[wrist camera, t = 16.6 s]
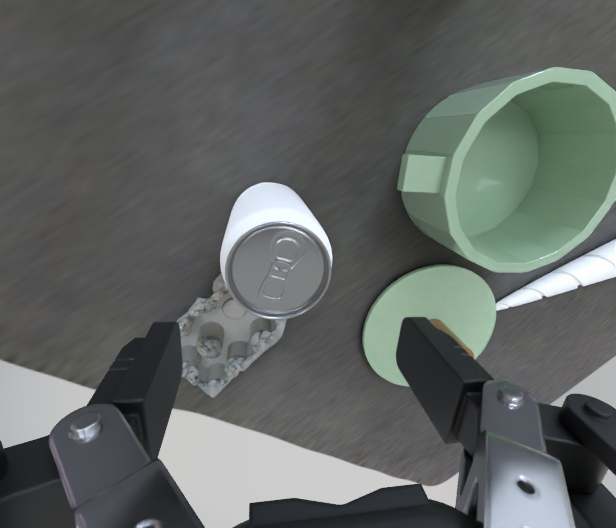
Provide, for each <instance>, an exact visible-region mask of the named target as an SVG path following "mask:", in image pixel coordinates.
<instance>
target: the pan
mask: <svg viewBox="0 0 616 528" xmlns="http://www.w3.org/2000/svg"><path fill="white" fill-rule="evenodd" d="M397 190H400V191H401V194H402V199H403V202H404V206H405V208H406V211H407V213H408V215H409V216H410V218H411V220H412V221H413V222H414V224H415V225H416V226H417V227H418V228H419V229H420V230H421V231H422V233H423V234H425V235H427V236H428V237H430V238H432V239H434V240H435V241H437V242H439V243H440V244H442V245H444V246H446V247H447V248H449V249H451V250H452V251H454V252H456V253H458V254H459V255H461V256H463V257H464V258H466V259H468V260H470V261H472V262H474V263H476V264H478V265H480V266H482V267H484V268H486V269H488V270H490V271H492V272H523V273H525V272H528V271H531V270H534V269H536V268H539V267H542V266H544V265H547V264H550V263H552V262H555V261H557V260H559V259H560V258H562V257H563V256H564V255H565V254H567V253H568V252H569V251H571V250H572V249H573V248H574V247H576V246H577V245H578V244H580V243H581V242H582V241H584V240H585V239H586V238H587V237H588V236H589V235H590V234H591V232H592V231H593V230H594V228H595V227H596V226H597V225H598V223H599V222H600V221H601V219H602V218H603V217H604V215H605V214H606V213H607V211H608V210H609V209H610V207H611V206H612V204H613V202H616V91H614V90H613V89H612V88H611V87H610V86H609V85H607V84H606V83H605V82H604V81H603V80H601V79H600V78H599V77H598V76H597V75H596V74H594V73H593V72H592V71H585V70H577V69H569V68H561V67H552V68H547V69H543V70H539V71H534V72H530V73H525V74H521V75H516V76H512V77H507V78H503V79H499V80H494V81H490V82H485V83H481V84H478V85H476V86H473V87H470V88H467V89H463V90H461V91H459V92H456V93H454V94H451V95H450V96H449V97H447V98H446V99H444V100H443V101H441V102H440V103H439V104H438V105H436V106H435V107H434V108H433V109H432V110H431V111H430V112H429V113H428V114H427V115H426V116H425V117H424V119H423V120H422V121H421V122H420V124H419V125H418V127H417V128H416V130H415V132H414V133H413V135H412V137H411V139H410V141H409V143H408V145H407V148H406V151H405V154H403V155H402V161H401V167H400V173H399V179H398V186H397Z"/></svg>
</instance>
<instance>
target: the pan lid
mask: <svg viewBox="0 0 616 528" xmlns="http://www.w3.org/2000/svg"><path fill="white" fill-rule="evenodd" d="M405 317H426V318H427V319H428V320H429V321H430V322H431V323H432V324H433V325H434V326H435V327H436V328H437V329H440V330H441V331H443V332H445V333H446V334H448V335H450V336H451V337H453V338H454V339H455V340H456V341H457V342H458V343H459V344H460V345H461V348H464V349H465V350H466V351H467V352H468V353H469V356H472V357H473V358H474V359H476V358H477V357H478V356H479V354H480V353H481V352H482V351H483V349H484V348H485V346H486V345H487V343H488V341H489V339H490V337H491V335H492V332H493V330H494V326H495V322H496V303H495V299H494V296H493V293H492V291H491V289H490V287H489V286H488V285H487V283H486V282H485V281H484V280H483V279H482V278H481V277H480V276H478V275H477V274H475V273H474V272H472V271H470V270H468V269H466V268H463V267H460V266H456V265H447V264H441V265H431V266H426V267H423V268H419V269H416V270H414V271H412V272H409V273H407V274H405V275H404V276H402V277H400V278H399V279H397V280H396V281H395V282H393V283H392V284H391V285H389V286H388V287H387V288H386V289H385V290H384V291H383V292H382V293H381V294H380V296H379V297H378V298H377V299H376V301H375V302H374V304H373V305H372V307H371V309H370V311H369V313H368V315H367V317H366V320H365V323H364V328H363V336H362V342H363V349H364V353H365V356H366V358H367V360H368V362H369V364H370V365H371V367H372V368H373V370H374V371H375V372H376V373H377V374H378V375H380V376H381V377H382V378H384V379H385V380H387V381H389V382H391V383H394V384H397V385H401V386H408V387H410V386H409V385H408V383H407V381H406V380H405V378H404V377H403V375H402V373H401V372H400V370H399V368H398V366H397V362H396V349H397V344H398V339H399V334H400V329H401V324H402V320H403V319H404V318H405Z"/></svg>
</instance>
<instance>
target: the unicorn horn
mask: <svg viewBox="0 0 616 528" xmlns="http://www.w3.org/2000/svg"><path fill="white" fill-rule="evenodd" d="M613 277H616V239H615V240H613V241H611V242H609V243H607V244H605V245H602V246H600V247H599V248H597V249H595V250H593V251H591V252H589V253H587V254H585V255H583V256H581V257H579V258H577V259H575V260H573V261H571V262H569V263H567V264H565V265H564V266H562V267H560V268H558V269H556V270H554V271H552V272H550V273H549V274H547V275H545V276H543V277H541V278H539V279H537V280H535V281H534V282H532V283H530V284H528V285H526V286H524V287H523V288H521V289H520V290H517V291H515V292H514V293H512V294H510V295H509V296H507V297H505V298H503V299H502V300H500V301H499V302H497V303H496V311H498V310H502V309H506V308H508V307H509V306H511V307H514V306H518V305H521V304H525V303H529V302H532V301H536V300H539V299H542V296H544V295H545V296H546V297H549V296H553V295H556V294H560V293H563V292H566V291H570V290H573V289H576V288H578V287H577V286H578V285H582V286H586V285H590V284H593V283H596V282H600V281H603V280H606V279H609V278H613Z"/></svg>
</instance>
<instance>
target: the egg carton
mask: <svg viewBox="0 0 616 528" xmlns="http://www.w3.org/2000/svg"><path fill="white" fill-rule="evenodd" d="M213 292H214V294H213V295H212V296H211V297H210V298H208V299H203V298H197V300H196V301H195V302H194V304H193V305H192V306H191V308H190V309H189V311H188V312H187V313H186V314H184V315H183V316H182V317H180V318H179V319H178V320H177V321H176V322H178V323H179V326H180V337H181V348H182V360H183V367H182V377H183V378H185V379H187V380H188V381H189V382H190V383H191V384H192V385H193V386H194V385H198V386H200V387H201V389H202V390H203V391H204V392H205V393H207V394H208V395H209V396H211V397H212V398H213V397H215V396H216V395H217V394H218V393H219V392H220V391H221V390H222V389H223V388H224V387H225V386H226V385H227V384H228V383H229V382H230V380H231V379H232V378H234V377H237V376H238V374H239V372H241V371H245V370H246V369H247V368H248V367H249V366H250V364H251V363H252V362H253V361H255V360H256V359H257V358H258V357H259V356H260V355H261V354H262V353H263V352H264V351H266V350H267V349H268V348H270V347H271V346H272V345H274V344H275V343H276V342H278V340H279V339H280V338H281V337H282V335H283V332H284V328H285V324H286V321H287V319H283V320H270V319H264V318H260V317H257V316H255V315H252V314H251V313H249V312H247V311H246V310H244V309H243V308H242V307H240V306H239V305H238V304H237V302H236V301H235V300H234V299H233V297H232V296H231V294H230V292H229V290H228V287H227V285H226V284H225V282H224V279H223V276H222V273H221V274H220V275H218V276H217V278H216V280H215V281H214V282H213Z"/></svg>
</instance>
